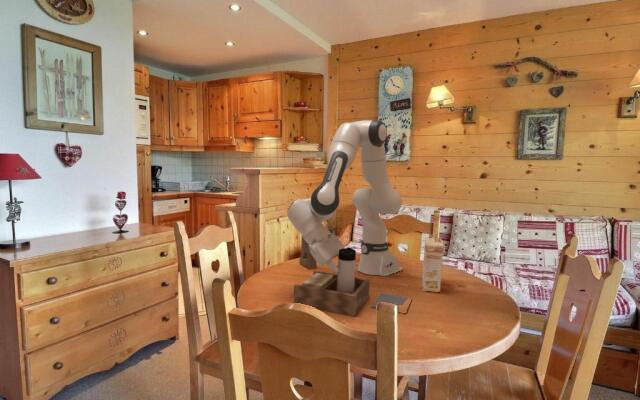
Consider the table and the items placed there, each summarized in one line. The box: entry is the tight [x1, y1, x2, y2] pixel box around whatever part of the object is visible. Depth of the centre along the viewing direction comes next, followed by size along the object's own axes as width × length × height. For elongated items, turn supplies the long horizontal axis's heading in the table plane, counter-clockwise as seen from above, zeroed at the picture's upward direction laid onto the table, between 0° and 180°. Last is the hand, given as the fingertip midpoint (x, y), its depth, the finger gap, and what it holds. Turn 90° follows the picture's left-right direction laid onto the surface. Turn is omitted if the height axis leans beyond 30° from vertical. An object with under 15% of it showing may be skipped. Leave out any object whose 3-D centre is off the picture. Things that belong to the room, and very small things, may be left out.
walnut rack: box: [293, 270, 371, 317], centre depth 132 cm, size 23×19×7 cm
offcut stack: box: [302, 273, 333, 289], centre depth 134 cm, size 8×13×8 cm, turn 159°
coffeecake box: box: [421, 237, 445, 292], centre depth 151 cm, size 15×7×20 cm, turn 164°
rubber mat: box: [371, 292, 409, 312], centre depth 131 cm, size 14×12×1 cm
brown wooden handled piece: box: [299, 235, 317, 270], centre depth 173 cm, size 4×11×18 cm, turn 32°
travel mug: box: [337, 247, 357, 294], centre depth 130 cm, size 6×7×20 cm
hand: (342, 267), depth 130 cm, fingers open, 8 cm apart
